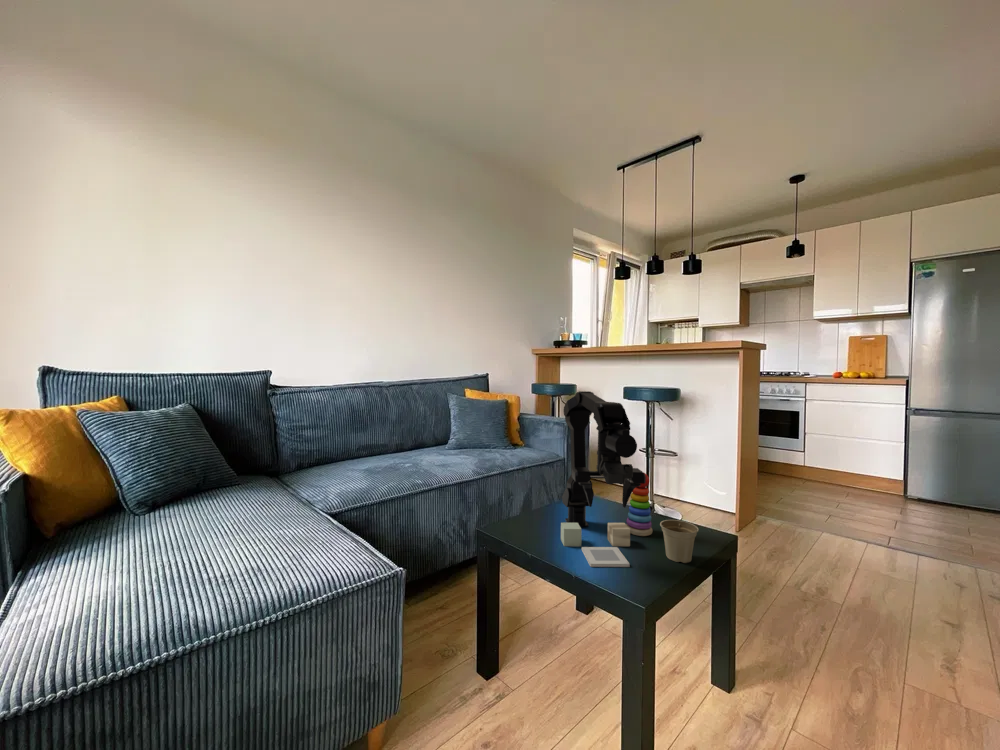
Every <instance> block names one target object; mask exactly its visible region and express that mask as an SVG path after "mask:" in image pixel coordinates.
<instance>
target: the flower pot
mask: <svg viewBox="0 0 1000 750" xmlns="http://www.w3.org/2000/svg"><path fill="white" fill-rule="evenodd" d="M659 526H660V527H661V531H662V534H663V540H664V548H665V555H666V557H667V559H669V560H670V561H673V562H675V563H679V562H681V563H683V564H688V563H691V562H692V559H693V557H692V556H693V550H694V544H695V541H696V540H695V538H696V537H697V535H698V534H697V533H699V527H698V526H697V525H695V524H694V523H691V522H688V521H684V520H678V519H666V520H665V519H664V520H662V521H660V523H659Z"/></svg>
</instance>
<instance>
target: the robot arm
mask: <svg viewBox="0 0 1000 750" xmlns="http://www.w3.org/2000/svg"><path fill="white" fill-rule="evenodd" d="M592 414H593V416H592ZM563 416H564V418H565V419H564V421H565V424H566V425H567V427H568V428H569V430H570V432H569V433H570V466H571V470H570V471H571V474H570V476H569V477H568V479H567V481H566V488H565V490H564V492H563V493H562V497H561V498H562V499H561V500H562V504H563V505H564V506H565V507H566V508H567V517H565V518H564V521H565V523H578V524H579V526H580V527H581V528H584V527H585V528H589V526H590V525H589V523H588V521H587V520H586V518H587V517H586V514H587V513H586V511H587V507H590V508H591V507H592V506H593V500H594V495H595V493H594V488H593V482H592V480H591V479H604V481H605V483H606V484H607V485H613V484H615V485H616V484H617V485H622V496H621V497H622V507H623V508H626V507H627V505H628V502H629V501H630V498H631V494H632V493H633V492H632V491H633V490H634V489H635V488H636V487H637V486H640V485H641V484H644V483H646V476H645V474H644V473H645V472H644V471H642V470H641V469H639V468H638V467H634V466H633V465H632V464H631V463H630V464H629V463H624V464H622V458H625V459H626V458H631V457H633V455H635V453H636V452H637V449H638V443H637V441H636V439H635V438H634V436H632V435H631V434H630V433H631V432H630V430H631V421H630V420H629V417H628V415H627V413H626V409H625V408H624V406H623V404H622V403H621V402H614V401H606V400H605V399H603V398H601V397H599V396H597V394H595V393H594V392H593V391H585V390H584V391H578V392H576V393H575V395H574V396H572V397H571V398H569V399H568V400H567V401H566V402H565V405H564V407H563ZM591 416H592V417H593V419H594V420H595V423H596V425H597V426H596V431H597V450H596V455H597V460H596V462H597V463H596V470H589V469H588V468H587V463H586V462H587V459H586V458H587V456H586V454H587V453H586V428H587V427H588V426H589V423H590V421H591ZM643 472H644V473H643Z"/></svg>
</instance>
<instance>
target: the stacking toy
mask: <svg viewBox="0 0 1000 750" xmlns="http://www.w3.org/2000/svg"><path fill="white" fill-rule="evenodd" d="M642 472H643V473H644V474H645V476H646V483H644V484H641V485H640V486H637V487H636V488H635V489H634V490H633V491H632V493H631V495H630V499H629V505H630V506H629V507H628V513H627V518H626V523H625V524H626V525H627V526H628V527H629V528H630V535H634V536H639V537H647V536H650V535H652V534H653V531H654V530H653V528H652V524H653V523H652V515H651V513H652V511H651V508H650V507H651V503H650V496H649V493H650V490H649V488H648V486H649V485H650V477H649V476H648V474H647V473H646V472H644V471H642Z"/></svg>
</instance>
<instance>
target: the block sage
mask: <svg viewBox="0 0 1000 750" xmlns="http://www.w3.org/2000/svg"><path fill="white" fill-rule="evenodd" d="M582 532H583V531H582V527H580V526H579V524H578V523H567V522H560V541H561V543H562V544H563V547H582V534H583V533H582Z"/></svg>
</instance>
